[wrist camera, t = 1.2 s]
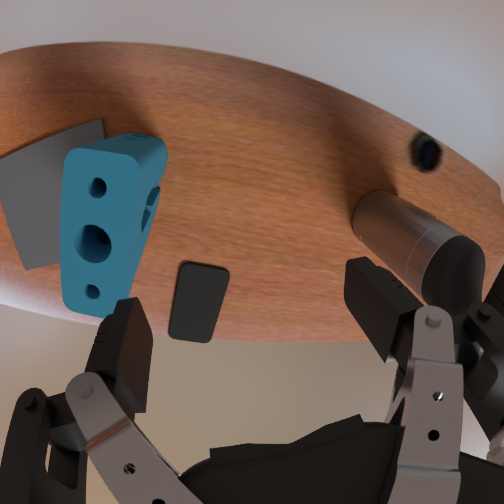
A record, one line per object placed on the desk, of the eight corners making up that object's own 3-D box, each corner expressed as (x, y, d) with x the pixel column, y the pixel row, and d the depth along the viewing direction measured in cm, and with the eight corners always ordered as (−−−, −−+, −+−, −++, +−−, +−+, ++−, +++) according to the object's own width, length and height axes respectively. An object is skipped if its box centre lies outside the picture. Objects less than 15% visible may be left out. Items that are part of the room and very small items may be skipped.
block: (134, 128, 31) (66, 146, 13) (172, 135, 32) (142, 157, 15) (119, 217, 36) (64, 309, 18) (154, 224, 37) (123, 322, 19)
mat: (102, 118, 29) (100, 118, 29) (131, 246, 38) (130, 248, 37) (-7, 163, 27) (-9, 164, 27) (27, 268, 35) (25, 270, 35)
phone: (167, 338, 46) (181, 262, 40) (167, 334, 46) (181, 259, 40) (210, 344, 48) (232, 271, 42) (209, 340, 48) (231, 268, 42)
